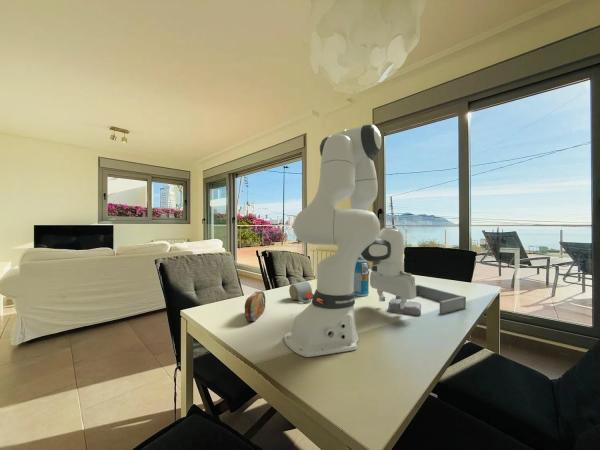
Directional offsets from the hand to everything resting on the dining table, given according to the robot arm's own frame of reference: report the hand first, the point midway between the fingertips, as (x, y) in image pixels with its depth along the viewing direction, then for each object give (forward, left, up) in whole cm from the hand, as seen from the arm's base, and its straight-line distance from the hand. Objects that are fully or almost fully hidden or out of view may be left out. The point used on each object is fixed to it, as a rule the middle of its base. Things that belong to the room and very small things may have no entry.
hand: (391, 304), depth 103 cm
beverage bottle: (+5, +24, -3) cm, 25 cm away
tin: (-49, +19, -3) cm, 53 cm away
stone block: (+6, -1, -3) cm, 7 cm away
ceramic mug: (-24, +29, -3) cm, 38 cm away
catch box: (+22, 0, -3) cm, 22 cm away
